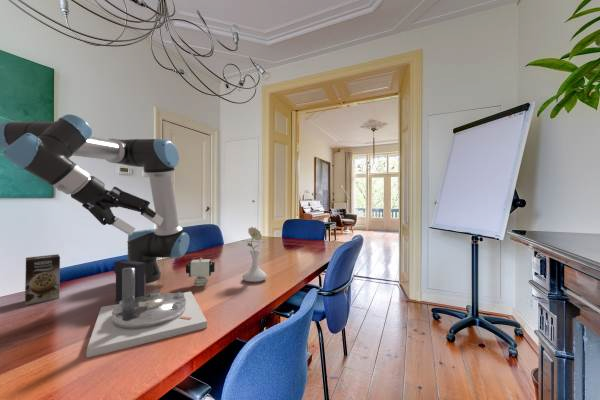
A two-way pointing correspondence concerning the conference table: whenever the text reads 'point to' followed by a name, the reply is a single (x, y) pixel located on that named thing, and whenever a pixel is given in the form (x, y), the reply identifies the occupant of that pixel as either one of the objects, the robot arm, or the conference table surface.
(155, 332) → the base plate
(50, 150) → the robot arm
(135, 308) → the round disc with peg
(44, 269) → the brown food box
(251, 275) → the flower in vase
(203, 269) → the pneumatic valve
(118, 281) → the black upright block
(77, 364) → the conference table surface
